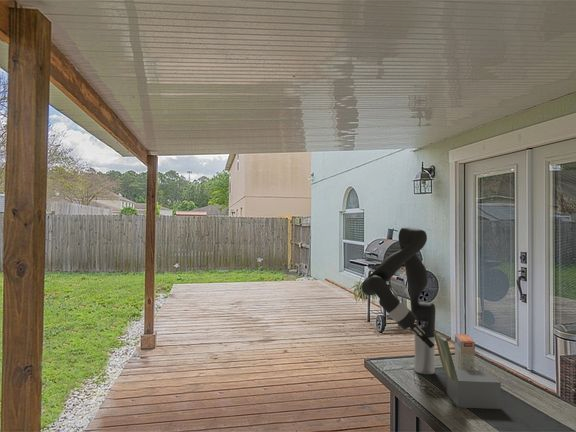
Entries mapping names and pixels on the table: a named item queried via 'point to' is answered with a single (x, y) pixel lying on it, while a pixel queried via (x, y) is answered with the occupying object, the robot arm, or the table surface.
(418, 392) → the table surface
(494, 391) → the block
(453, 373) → the lid
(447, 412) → the table surface
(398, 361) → the table surface
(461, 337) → the cracker box
